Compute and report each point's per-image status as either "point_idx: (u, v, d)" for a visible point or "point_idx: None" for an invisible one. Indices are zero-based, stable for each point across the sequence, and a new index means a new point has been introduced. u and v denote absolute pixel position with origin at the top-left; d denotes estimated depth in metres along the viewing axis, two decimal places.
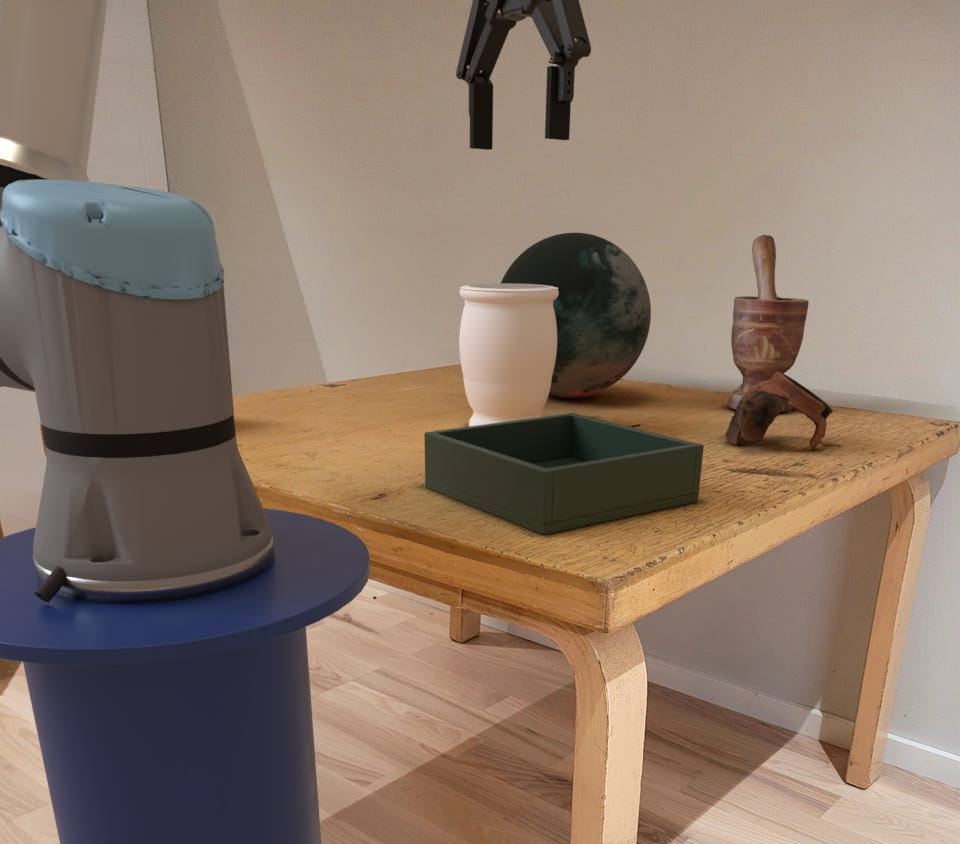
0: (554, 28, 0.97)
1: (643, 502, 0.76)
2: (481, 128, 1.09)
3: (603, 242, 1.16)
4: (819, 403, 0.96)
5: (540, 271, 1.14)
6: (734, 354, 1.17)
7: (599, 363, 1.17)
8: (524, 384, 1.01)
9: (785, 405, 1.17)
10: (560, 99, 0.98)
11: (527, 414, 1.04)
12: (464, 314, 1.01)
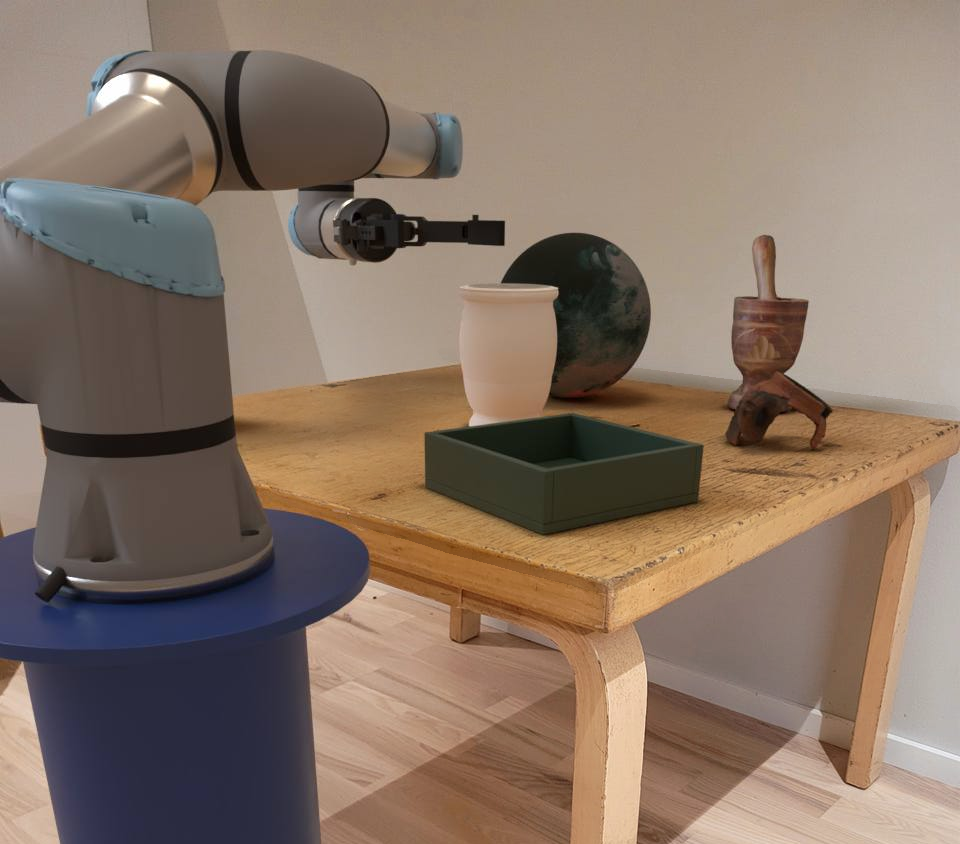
0: None
1: (643, 502, 0.76)
2: None
3: (603, 242, 1.16)
4: (819, 403, 0.96)
5: (540, 271, 1.14)
6: (734, 354, 1.17)
7: (599, 363, 1.17)
8: (524, 384, 1.01)
9: (785, 405, 1.17)
10: None
11: (527, 414, 1.04)
12: (464, 314, 1.01)
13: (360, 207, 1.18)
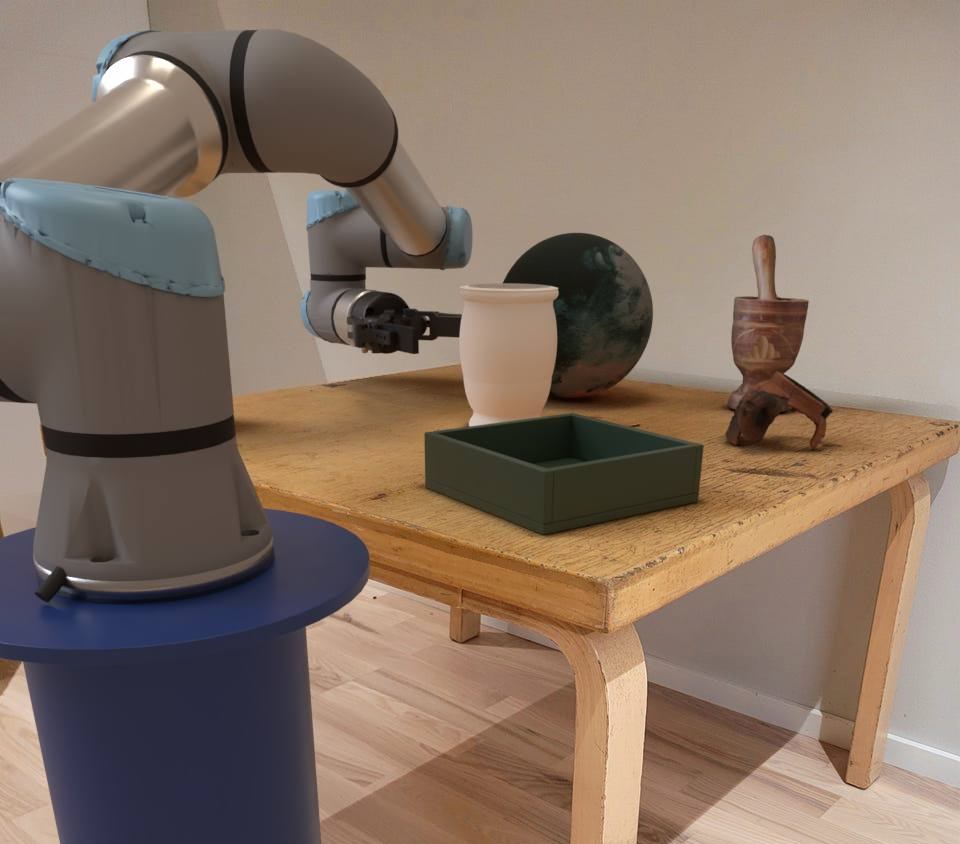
0: None
1: (643, 502, 0.76)
2: None
3: (606, 242, 1.16)
4: (819, 403, 0.96)
5: (543, 271, 1.14)
6: (734, 354, 1.17)
7: (603, 363, 1.17)
8: (524, 384, 1.01)
9: (785, 405, 1.17)
10: None
11: (527, 414, 1.04)
12: (464, 314, 1.01)
13: (373, 302, 1.20)
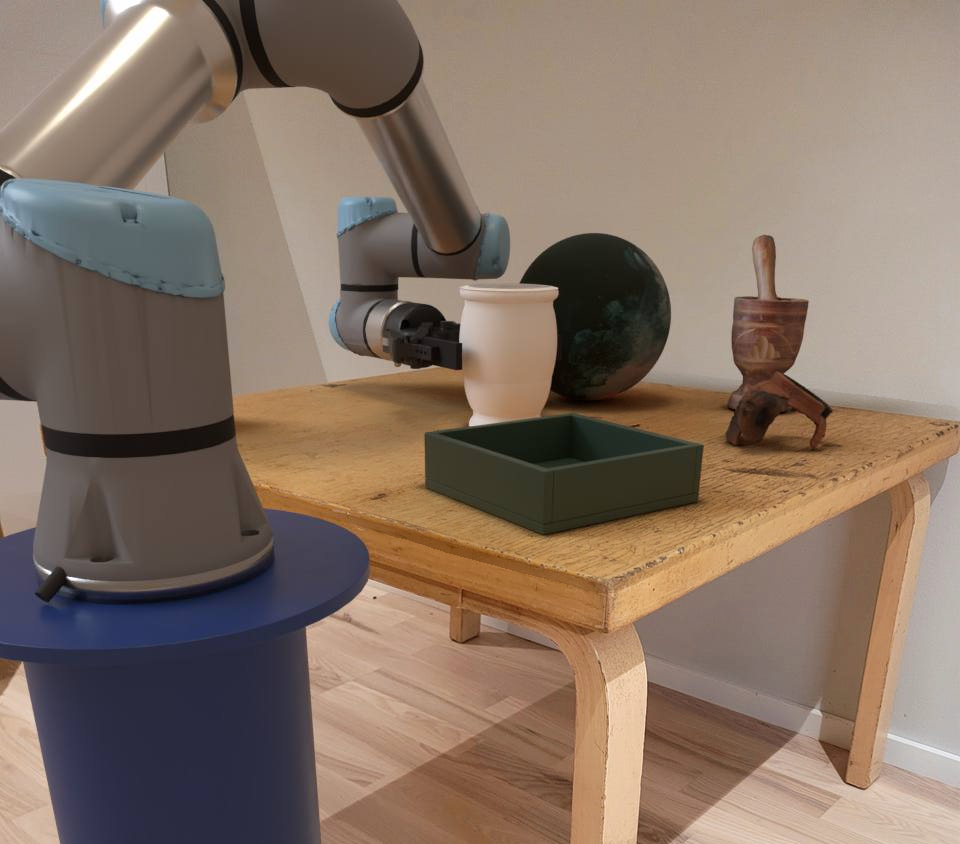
0: None
1: (643, 502, 0.76)
2: None
3: (630, 242, 1.16)
4: (819, 403, 0.96)
5: (592, 273, 1.11)
6: (734, 354, 1.17)
7: (646, 363, 1.17)
8: (524, 384, 1.01)
9: (785, 405, 1.17)
10: None
11: (527, 414, 1.04)
12: (464, 314, 1.01)
13: (409, 315, 1.14)
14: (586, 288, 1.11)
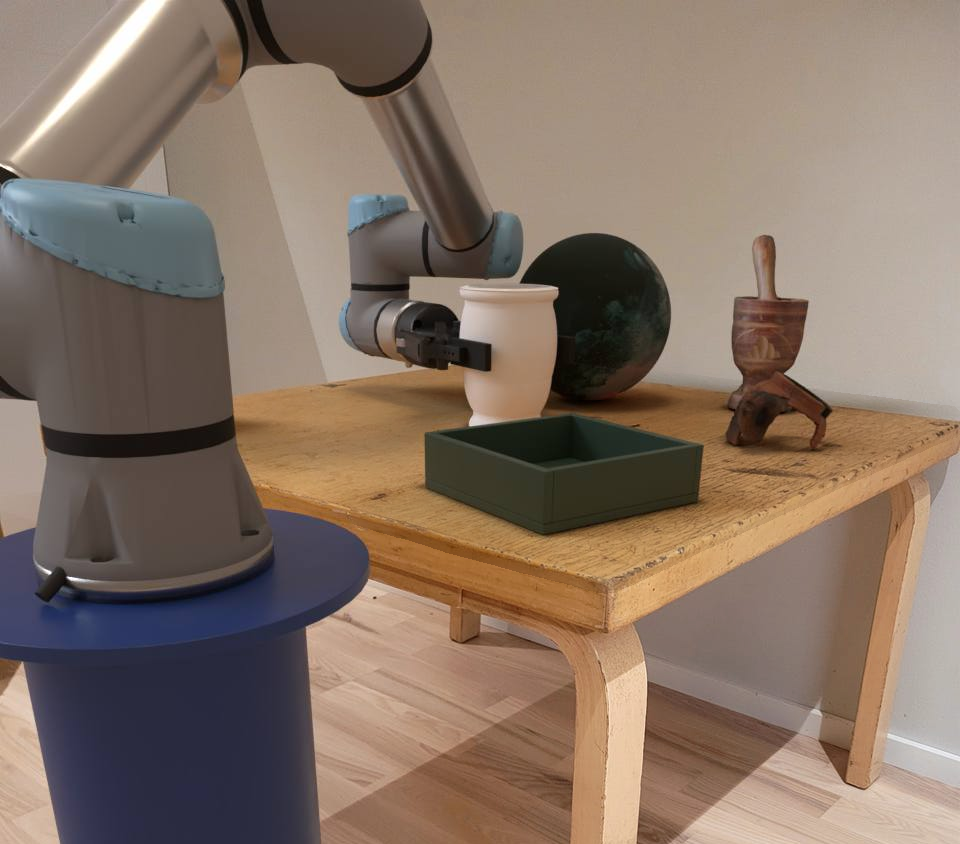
0: None
1: (643, 502, 0.76)
2: None
3: (630, 242, 1.16)
4: (819, 403, 0.96)
5: (592, 273, 1.11)
6: (734, 354, 1.17)
7: (646, 363, 1.17)
8: (524, 384, 1.01)
9: (785, 405, 1.17)
10: None
11: (527, 414, 1.04)
12: (464, 314, 1.01)
13: (421, 314, 1.12)
14: (586, 288, 1.11)
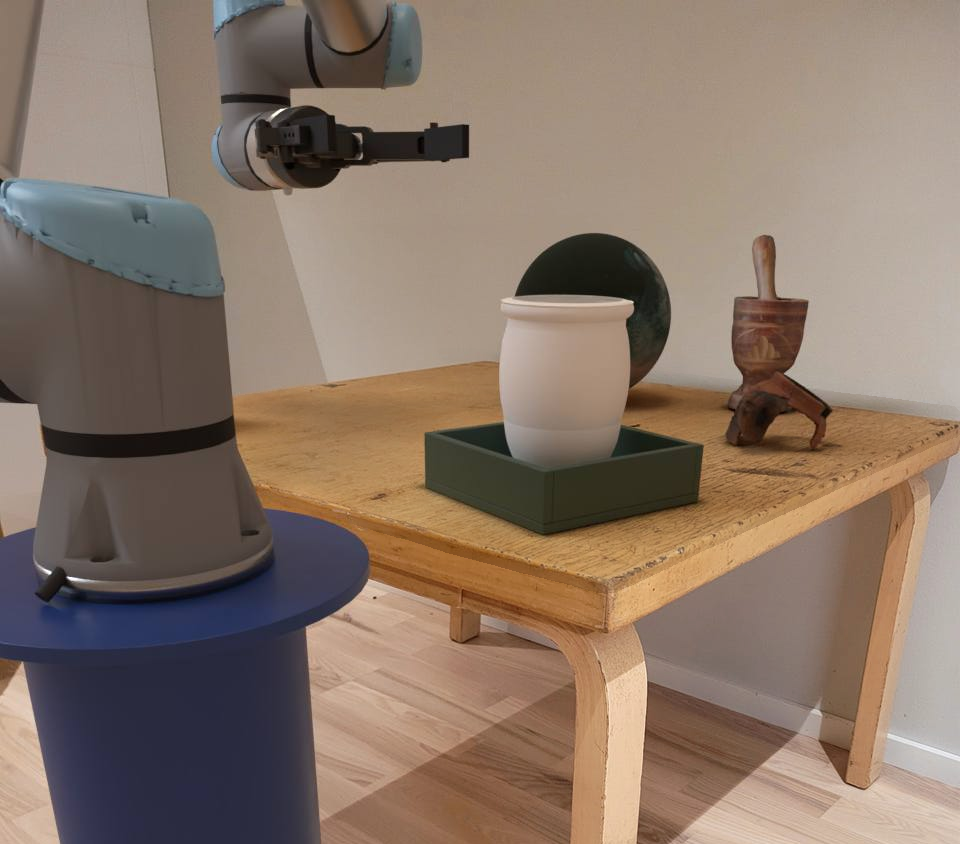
0: None
1: (643, 502, 0.76)
2: None
3: (630, 242, 1.16)
4: (819, 403, 0.96)
5: (592, 273, 1.11)
6: (734, 354, 1.17)
7: (646, 363, 1.17)
8: (588, 431, 0.75)
9: (785, 405, 1.17)
10: None
11: None
12: (507, 337, 0.75)
13: (290, 116, 0.95)
14: (586, 288, 1.11)
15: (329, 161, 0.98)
